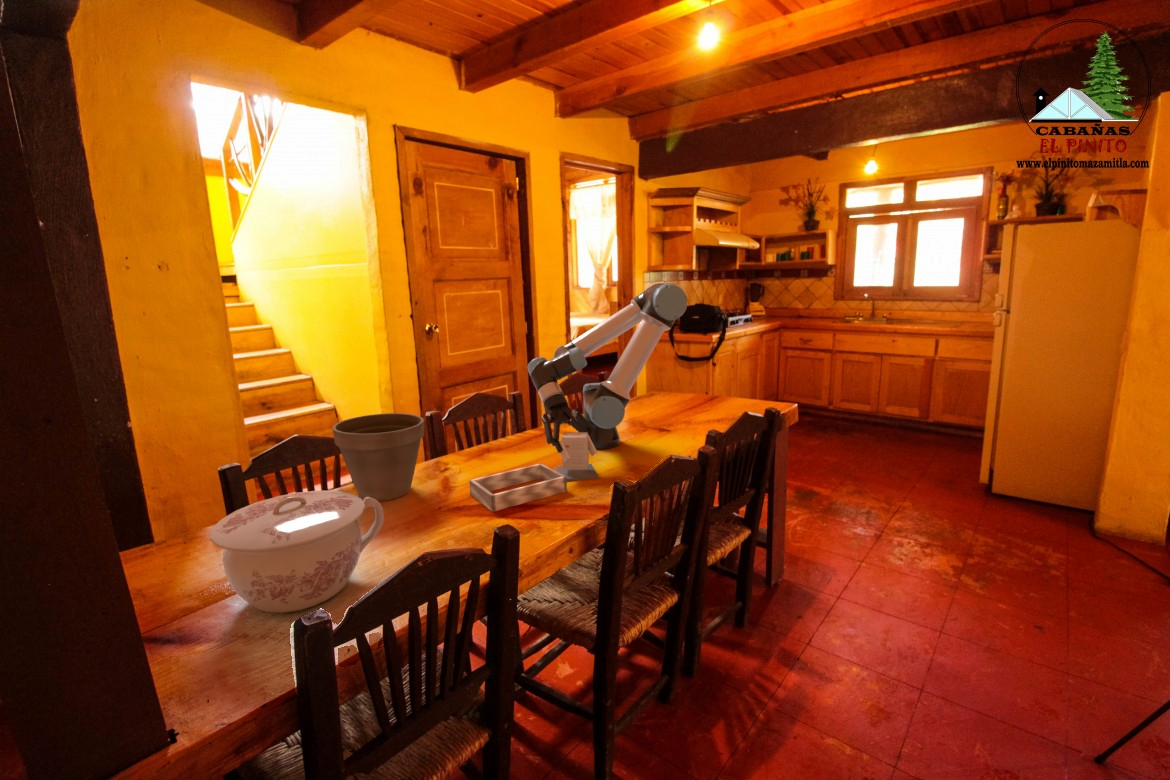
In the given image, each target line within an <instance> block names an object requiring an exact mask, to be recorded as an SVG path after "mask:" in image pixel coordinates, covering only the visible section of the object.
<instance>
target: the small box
mask: <svg viewBox="0 0 1170 780" xmlns="http://www.w3.org/2000/svg"><path fill="white" fill-rule="evenodd" d="M561 440H562V442H563V444H564V446H565V448H566V450H567V452H568V455H569V457H570V459H569V460H568V461H567V462H566V463H565V462H564V460H563V458H562V457H561V458H562V459H561V461H562V466H563V469H587V468H588V464H590V463H589V462H590V461H589V459H590V458H589V457H590V456H589V455H590V452H589V450H588V432H578V431H577V432H576V431H575V432H573V431H572V432H567V431H565V432H563V434H562V436H561Z"/></svg>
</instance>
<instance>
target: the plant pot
mask: <svg viewBox="0 0 1170 780" xmlns="http://www.w3.org/2000/svg"><path fill="white" fill-rule="evenodd" d="M332 432H333V439H334V444H335V446H336V447H338V448H339V450H340V453H341V455H342V458H343V460H344V463H345V466H346V469H347V471H348V473H349V477H350V478H351V482H352V483H353V486H354V488H355V490H356V492H357V496H358V497H360V498H361V499H363V500H364V498H365V497H371V498H374V499H375V500H377V501H378V502H384V501H390V500H395V499H397V498H401V497H403V496H405V495H407V494H408V493H409V492H410V490H411V487H412V483H413V478H414V474H415V470H416V467H417V460H418V457H419V456H418V455H419V450H420V445H421V440H422V439H423V438H424V436H425V420H424V417H422V416H420V415H417V414H411V413H401V412H393V413H388V412H386V413H376V414H367V415H362V416H361V415H360V416H355V417H351V418H347V419H344V420H342V421H341V420H340V421H339V422H337V423H335V424H334V425H333V426H332Z"/></svg>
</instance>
